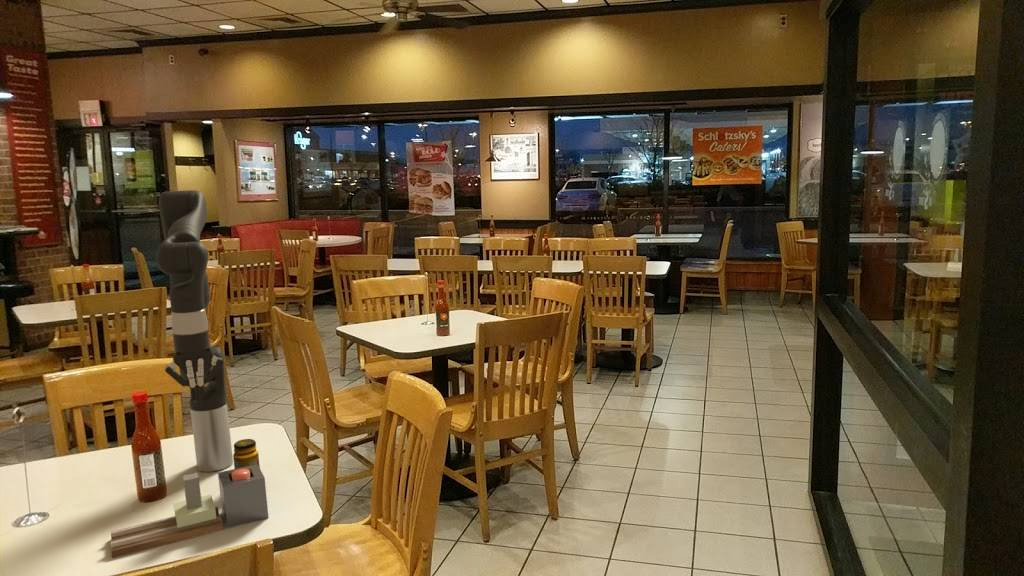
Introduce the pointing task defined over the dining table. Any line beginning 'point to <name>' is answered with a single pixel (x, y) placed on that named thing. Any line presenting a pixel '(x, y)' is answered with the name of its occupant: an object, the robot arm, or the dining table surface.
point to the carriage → (194, 504)
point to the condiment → (245, 453)
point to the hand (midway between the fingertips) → (198, 400)
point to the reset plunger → (240, 474)
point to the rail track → (158, 534)
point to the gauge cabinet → (243, 497)
